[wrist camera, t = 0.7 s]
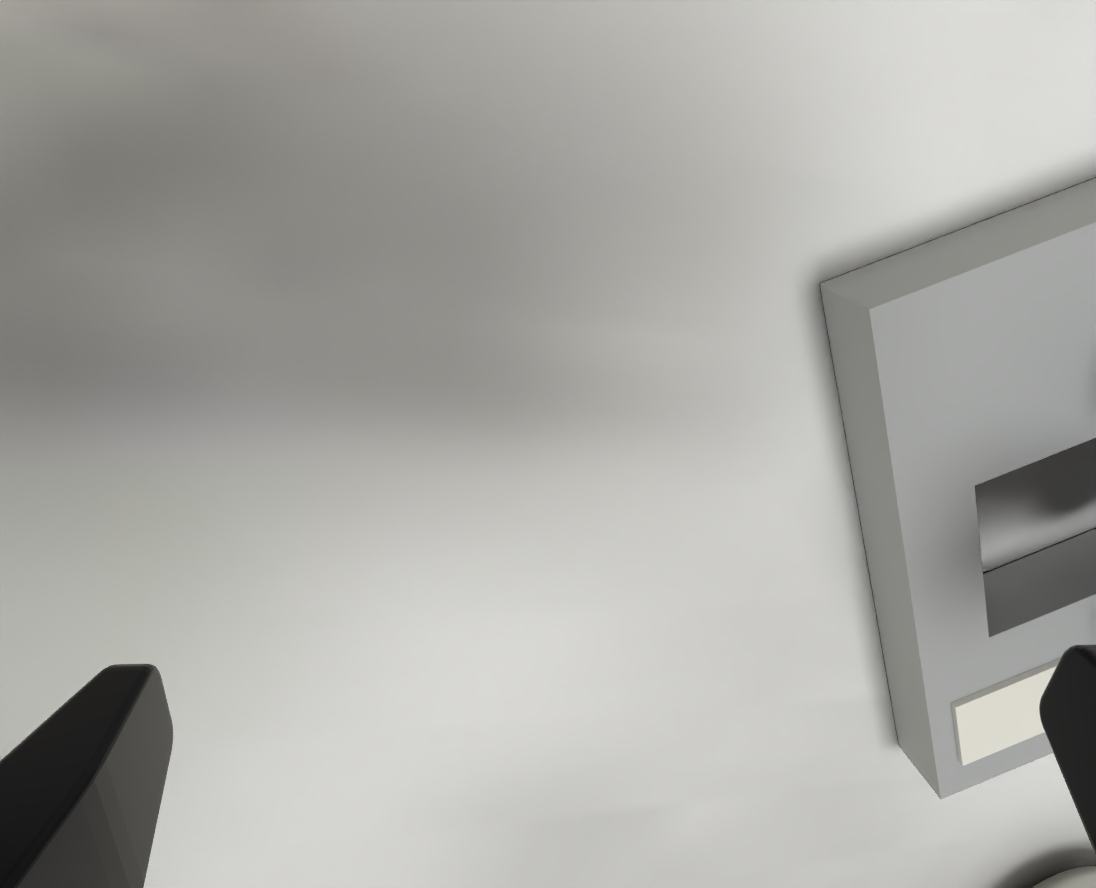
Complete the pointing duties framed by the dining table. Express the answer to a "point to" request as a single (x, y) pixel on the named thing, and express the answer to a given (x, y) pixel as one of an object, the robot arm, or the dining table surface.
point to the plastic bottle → (1071, 879)
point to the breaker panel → (970, 470)
